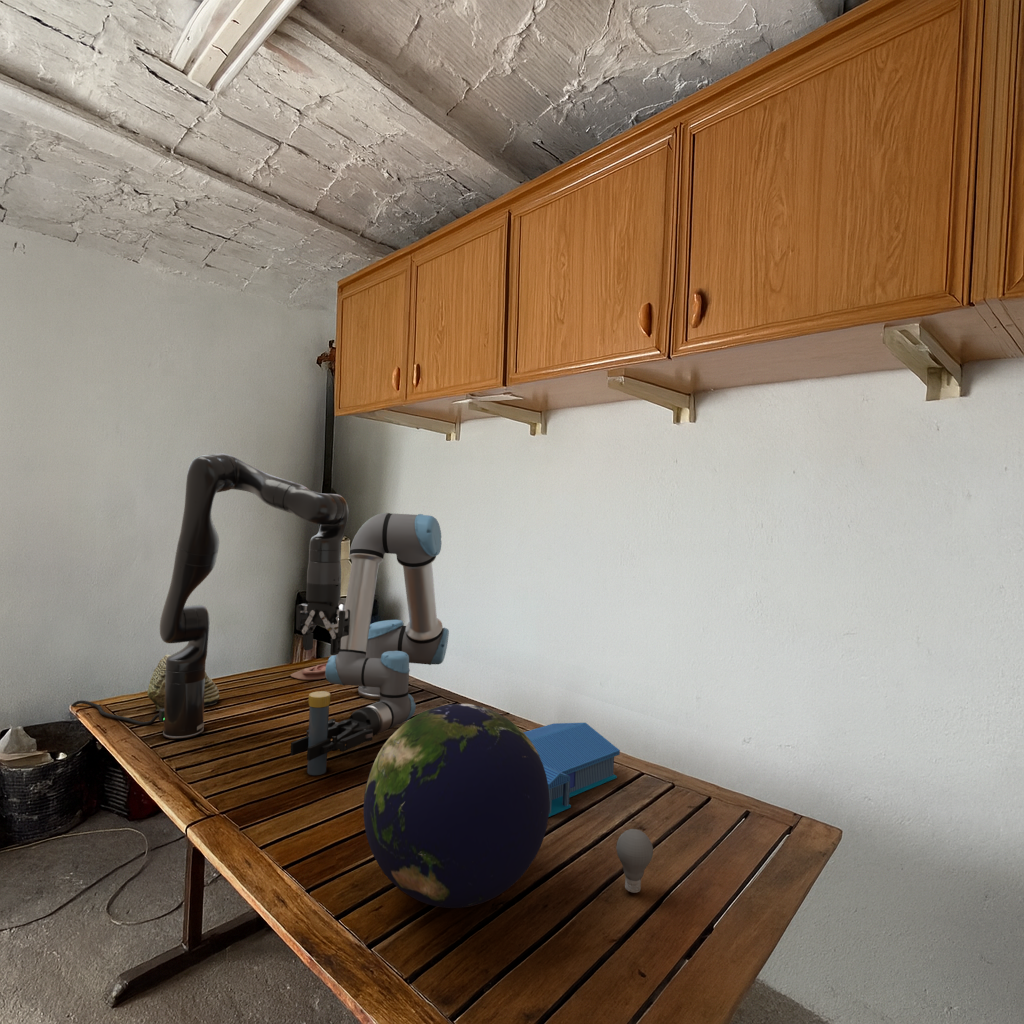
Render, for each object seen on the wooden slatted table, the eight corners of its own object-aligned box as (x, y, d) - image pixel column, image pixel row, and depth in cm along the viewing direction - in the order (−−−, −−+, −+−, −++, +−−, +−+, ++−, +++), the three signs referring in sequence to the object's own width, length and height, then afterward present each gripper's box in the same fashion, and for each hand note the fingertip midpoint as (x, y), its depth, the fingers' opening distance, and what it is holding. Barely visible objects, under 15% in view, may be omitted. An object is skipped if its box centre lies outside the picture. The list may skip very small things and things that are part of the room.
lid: (314, 700, 148) (314, 690, 148) (333, 702, 148) (334, 692, 147) (304, 706, 144) (304, 696, 143) (324, 708, 143) (324, 698, 143)
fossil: (144, 707, 182) (145, 655, 182) (212, 696, 194) (213, 647, 194) (151, 716, 175) (153, 662, 175) (221, 703, 188) (223, 653, 188)
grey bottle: (312, 766, 148) (315, 692, 148) (329, 768, 148) (332, 694, 147) (303, 774, 144) (306, 698, 144) (321, 776, 143) (324, 699, 143)
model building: (501, 837, 120) (504, 785, 120) (427, 790, 139) (429, 744, 138) (628, 782, 147) (630, 739, 147) (552, 748, 165) (553, 710, 165)
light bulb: (610, 879, 108) (613, 822, 108) (644, 879, 109) (647, 822, 109) (619, 902, 102) (622, 840, 102) (655, 901, 103) (658, 840, 103)
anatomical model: (285, 666, 217) (303, 658, 228) (285, 677, 217) (303, 669, 228) (321, 670, 214) (337, 661, 225) (321, 681, 214) (337, 673, 225)
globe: (319, 919, 95) (326, 721, 95) (420, 827, 123) (427, 673, 122) (502, 984, 84) (511, 760, 83) (568, 867, 112) (576, 698, 111)
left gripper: (288, 579, 145) (285, 651, 145) (337, 585, 139) (335, 660, 139) (311, 576, 151) (308, 644, 152) (359, 582, 145) (356, 653, 146)
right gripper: (396, 743, 158) (328, 777, 137) (343, 728, 166) (271, 759, 145) (397, 713, 158) (330, 743, 137) (344, 700, 166) (273, 726, 145)
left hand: (321, 652), depth 145 cm, fingers open, 7 cm apart
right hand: (300, 751), depth 141 cm, fingers closed on grey bottle, 4 cm apart
